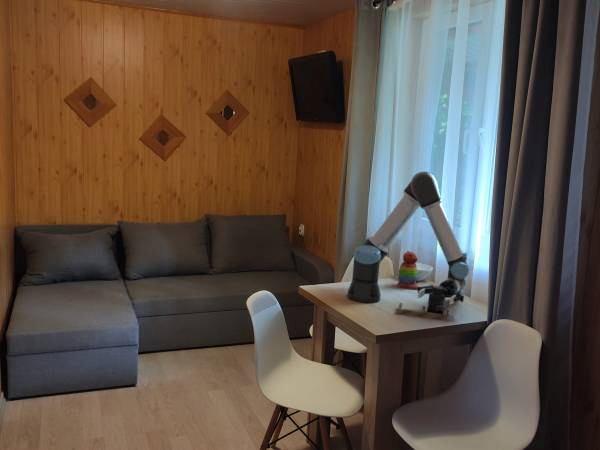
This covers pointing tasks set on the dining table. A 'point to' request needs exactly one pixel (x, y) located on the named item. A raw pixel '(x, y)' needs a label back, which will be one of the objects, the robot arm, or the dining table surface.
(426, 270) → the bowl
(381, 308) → the dining table surface
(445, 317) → the notch rail
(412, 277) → the stacking bear
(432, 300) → the supplement bottle
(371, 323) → the dining table surface
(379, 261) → the robot arm
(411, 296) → the dining table surface
